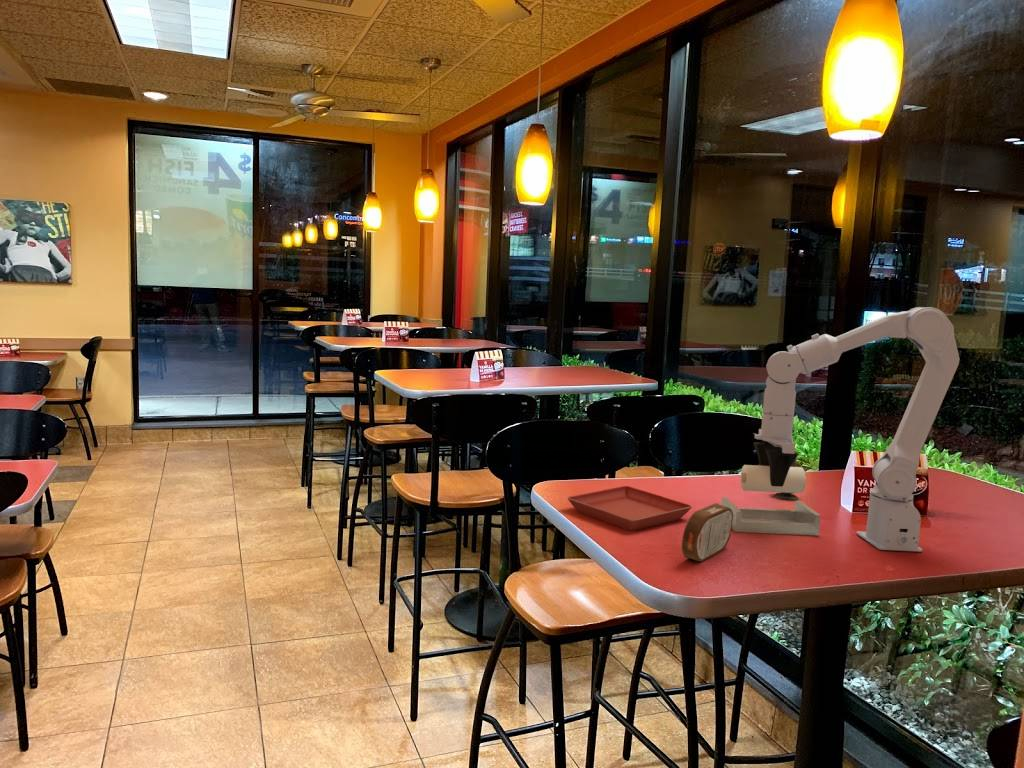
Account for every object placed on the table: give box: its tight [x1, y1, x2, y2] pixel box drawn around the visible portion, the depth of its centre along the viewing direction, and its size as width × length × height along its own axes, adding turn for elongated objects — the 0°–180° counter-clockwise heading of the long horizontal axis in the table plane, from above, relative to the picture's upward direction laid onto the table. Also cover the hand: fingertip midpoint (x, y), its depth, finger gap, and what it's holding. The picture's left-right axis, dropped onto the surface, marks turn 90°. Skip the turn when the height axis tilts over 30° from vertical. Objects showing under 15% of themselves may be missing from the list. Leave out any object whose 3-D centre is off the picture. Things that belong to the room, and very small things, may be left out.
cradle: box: [720, 496, 821, 537], centre depth 150 cm, size 10×16×4 cm, turn 91°
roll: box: [740, 464, 807, 494], centre depth 150 cm, size 5×12×5 cm, turn 91°
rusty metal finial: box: [773, 451, 799, 501], centre depth 173 cm, size 6×6×12 cm
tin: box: [681, 502, 733, 563], centre depth 131 cm, size 15×3×8 cm, turn 141°
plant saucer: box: [567, 485, 693, 531], centre depth 153 cm, size 18×18×3 cm
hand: (771, 482), depth 150 cm, fingers closed on roll, 5 cm apart
